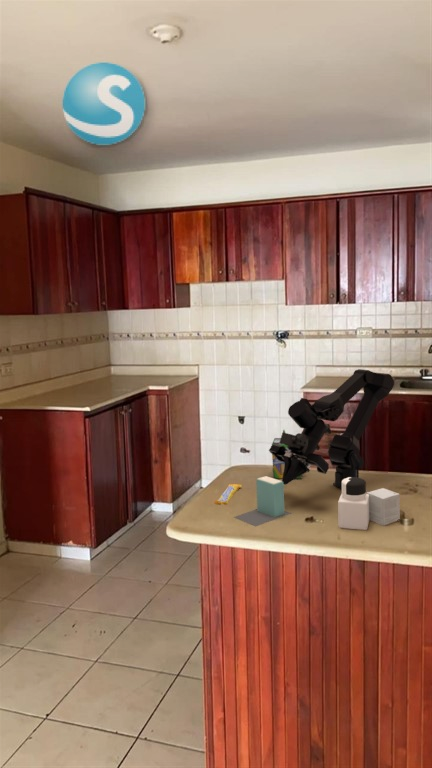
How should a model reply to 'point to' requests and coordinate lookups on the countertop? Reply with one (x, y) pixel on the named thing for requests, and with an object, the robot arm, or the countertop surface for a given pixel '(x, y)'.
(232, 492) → the candy bar
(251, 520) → the mat
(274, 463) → the chalk box
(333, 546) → the countertop surface
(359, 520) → the medicine bottle
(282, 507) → the teal box cream top
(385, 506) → the product box
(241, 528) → the countertop surface
